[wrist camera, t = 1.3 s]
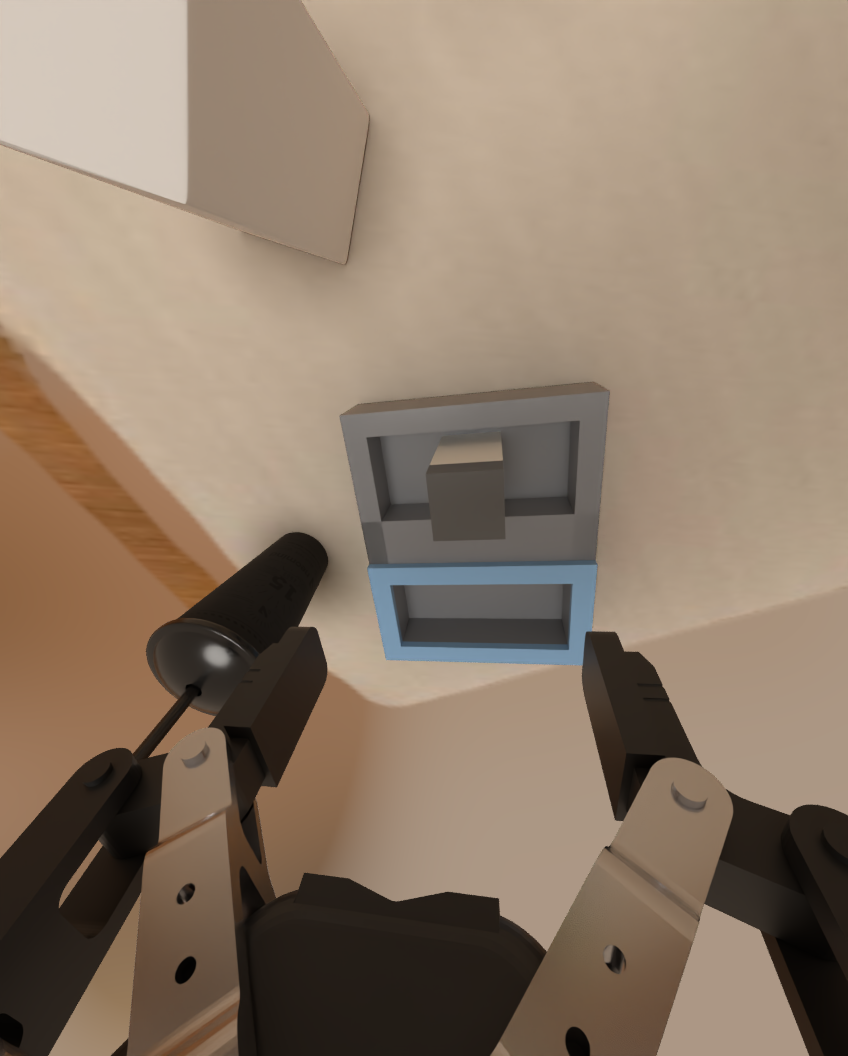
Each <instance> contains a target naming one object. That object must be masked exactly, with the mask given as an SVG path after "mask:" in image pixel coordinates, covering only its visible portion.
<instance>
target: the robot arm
mask: <svg viewBox="0 0 848 1056" xmlns="http://www.w3.org/2000/svg"><path fill="white" fill-rule="evenodd" d="M326 677H327V662H326V659H325V655H324V652H323V648H322V645H321V641H320V638H319V634H318V631H317V629H316V628H315V627H290V628H288V630H287V631H286V632H285V634H284V635H283V637H282V638H281V640H280V641H279V643H273V644H272V645H270V646H269V647H268V648H267V649H266V650H264V651H263V652H262V653H261V654H259V655H258V657H257V658H256V660H255V661H254V663H253V664H252V665H251V667H250V668H249V672H247V673H246V674H245V675H244V677H243V678H242V680H241V683H239V684H238V685H237V687H236V688H235V690H234V691H233V693H232V694H231V695H230V697H229V698H228V700H227V701H226V703H225V704H224V705H223V707H222V708H221V710H220V711H219V713H218V714H217V715H216V717H215V718H214V720H213V721H212V723H211V724H210V725H209V727H208V728H204V729H200V730H197V731H195V732H193V733H191V734H189V735H187V736H186V737H184V738H183V739H182V740H181V741H179V742H178V743H177V744H176V745H175V746H174V747H173V748H172V749H171V751H170V752H169V753H166V754H162V755H158V756H154V757H150V758H146V759H141V760H136V759H135V757H134V756H133V754H132V753H131V751H129V750H128V749H126V748H116V749H111V750H108V751H105V752H103V753H101V754H99V755H97V756H95V757H94V758H92V759H91V760H90V761H88V762H86V763H85V764H84V765H83V766H82V767H81V768H79V769H78V770H77V771H76V772H75V773H74V774H73V776H72V777H71V778H70V779H69V780H68V781H67V782H66V784H65V785H64V786H63V787H62V788H61V789H60V791H59V792H58V793H57V794H56V795H55V796H54V797H53V799H52V800H51V801H50V802H49V803H48V805H46V807H45V808H44V809H43V810H42V811H41V812H40V813H39V815H38V816H37V817H36V818H35V819H34V820H33V822H32V823H31V824H30V825H29V826H28V827H27V828H26V830H25V831H24V832H23V833H22V834H21V835H20V836H19V838H18V839H17V840H16V841H15V842H14V844H13V845H12V846H11V847H10V848H9V849H8V850H7V852H6V853H5V854H4V855H3V856H2V857H1V858H0V1056H48V1055H49V1053H50V1051H51V1050H52V1048H53V1046H54V1044H55V1043H56V1041H57V1039H58V1037H59V1036H60V1034H61V1032H62V1030H63V1029H64V1027H65V1025H66V1023H67V1022H68V1020H69V1018H70V1016H71V1015H72V1013H73V1011H74V1009H75V1008H76V1006H77V1004H78V1002H79V1001H80V999H81V997H82V995H83V994H84V992H85V990H86V988H87V987H88V985H89V983H90V981H91V979H92V978H93V976H94V974H95V972H96V971H97V969H98V967H99V965H100V964H101V962H102V960H103V958H104V957H105V955H106V953H107V951H108V950H109V948H110V946H111V944H112V943H113V941H114V939H115V937H116V935H117V934H118V932H119V930H120V929H121V927H122V925H123V923H124V922H125V920H126V918H127V916H128V915H129V913H130V911H131V909H132V908H133V906H134V904H135V902H136V901H137V899H138V897H139V895H140V893H141V899H140V911H139V922H138V934H137V945H136V957H135V969H134V980H133V991H132V1004H131V1014H130V1015H131V1016H130V1026H129V1037H128V1039H127V1040H126V1041H125V1042H124V1043H123V1044H122V1045H121V1046H120V1047H119V1048H118V1049H117V1050H116V1051H115V1052H114V1053H113V1054H112V1055H111V1056H656V1055H657V1052H658V1049H659V1046H660V1043H661V1040H662V1037H663V1034H664V1031H665V1027H666V1025H667V1021H668V1018H669V1015H670V1012H671V1009H672V1006H673V1003H674V1000H675V997H676V994H677V991H678V987H679V984H680V981H681V978H682V975H683V972H684V969H685V966H686V963H687V960H688V957H689V954H690V950H691V947H692V944H693V941H694V938H695V935H696V931H697V928H698V925H699V921H700V916H701V912H702V909H703V906H704V904H706V905H708V906H710V907H712V908H714V909H717V910H719V911H721V912H723V913H725V914H727V915H729V916H732V917H734V918H736V919H738V920H740V921H742V922H744V923H747V924H749V925H751V926H753V927H755V928H757V929H759V930H760V931H761V933H762V936H763V938H764V941H765V944H766V946H767V949H768V951H769V954H770V956H771V959H772V961H773V964H774V967H775V969H776V972H777V974H778V977H779V979H780V982H781V984H782V987H783V989H784V992H785V995H786V997H787V1000H788V1002H789V1005H790V1007H791V1010H792V1012H793V1015H794V1017H795V1020H796V1023H797V1025H798V1028H799V1030H800V1033H801V1035H802V1038H803V1041H804V1043H805V1046H806V1048H807V1051H808V1053H809V1056H848V815H846V814H844V813H841V812H839V811H837V810H835V809H831V808H828V807H824V806H820V805H803V806H801V807H798V808H796V809H795V810H794V811H793V812H792V814H791V815H787V814H785V813H782V812H779V811H776V810H773V809H770V808H768V807H765V806H762V805H759V804H756V803H753V802H751V801H748V800H746V799H743V798H741V797H739V796H737V795H735V794H733V793H731V792H730V791H728V790H727V789H725V788H724V786H723V785H722V784H721V782H720V781H719V780H717V778H716V777H715V776H714V775H713V774H711V773H710V772H709V771H707V770H706V769H704V768H703V767H702V766H701V764H700V763H699V761H698V759H697V757H696V755H695V753H694V751H693V748H692V746H691V744H690V742H689V740H688V738H687V736H686V734H685V732H684V729H683V727H682V725H681V723H680V721H679V719H678V717H677V714H676V712H675V710H674V708H673V706H672V704H671V702H669V697H668V695H667V693H666V691H665V689H664V688H663V687H662V683H661V681H660V678H659V676H658V674H657V672H656V670H655V668H654V666H653V665H652V664H651V663H650V662H649V661H648V660H646V659H645V658H644V657H643V656H642V655H641V654H640V653H639V652H624V650H623V647H622V645H621V642H620V640H619V637H618V635H617V633H616V632H590V631H587V632H586V634H585V642H584V654H583V667H582V683H583V690H584V696H585V700H586V704H587V708H588V712H589V717H590V721H591V725H592V729H593V733H594V737H595V741H596V745H597V749H598V753H599V757H600V760H601V765H602V769H603V773H604V777H605V781H606V785H607V789H608V793H609V798H610V801H611V806H612V810H613V813H614V818H615V820H617V821H623V823H622V825H621V827H620V828H619V830H618V832H617V834H616V836H615V838H614V840H613V841H612V843H611V845H610V846H609V847H607V846H606V847H605V848H604V849H603V850H602V852H601V853H600V854H599V856H598V858H597V860H596V861H595V863H594V865H593V867H592V869H591V871H590V873H589V874H588V876H587V878H586V880H585V882H584V884H583V886H582V887H581V890H580V891H579V893H578V895H577V897H576V899H575V901H574V903H573V904H572V906H571V908H570V910H569V912H568V914H567V916H566V917H565V919H564V921H563V923H562V925H561V927H560V929H559V931H558V932H557V934H556V936H555V938H554V940H553V942H552V944H551V946H550V947H549V949H548V951H546V950H545V949H544V948H543V947H542V946H541V945H540V944H539V943H538V942H537V940H535V939H534V938H533V937H532V936H531V935H529V933H527V932H526V931H525V930H524V929H522V928H521V927H519V926H518V925H516V924H515V923H513V922H512V921H510V920H508V919H506V918H504V917H502V916H500V909H499V899H498V898H491V897H483V896H476V895H467V894H461V893H453V892H445V893H439V894H434V895H429V896H424V897H419V898H414V899H409V900H403V901H397V902H395V901H391V900H389V899H387V898H385V897H383V896H381V895H379V894H377V893H375V892H374V891H372V890H370V889H368V888H366V887H364V886H362V885H360V884H358V883H356V882H354V881H352V880H351V879H348V878H340V877H333V876H325V875H318V874H310V873H304V875H303V878H302V881H301V884H300V887H299V890H295V891H292V892H290V893H287V894H284V895H282V896H280V897H278V898H276V896H275V892H274V889H273V886H272V884H271V880H270V876H269V872H268V868H267V861H266V855H265V848H264V842H263V836H262V829H261V823H260V817H259V811H258V805H257V801H256V798H255V797H256V795H257V793H258V791H259V789H260V787H261V786H268V787H277V786H278V784H279V781H280V779H281V777H282V775H283V773H284V771H285V769H286V766H287V764H288V762H289V760H290V758H291V756H292V753H293V751H294V749H295V747H296V745H297V742H298V740H299V738H300V736H301V734H302V732H303V730H304V727H305V725H306V723H307V721H308V719H309V716H310V714H311V712H312V710H313V708H314V706H315V704H316V702H317V699H318V697H319V695H320V693H321V691H322V689H323V686H324V684H325V681H326ZM98 840H99V841H100V842H101V844H102V845H103V846H102V848H101V849H100V851H99V852H98V853H97V855H96V856H95V858H94V859H93V861H92V862H91V864H90V865H89V866H88V868H87V869H86V871H85V872H84V874H83V875H82V877H81V878H80V879H79V881H78V882H77V884H76V885H75V887H74V888H73V889H72V891H71V892H70V894H69V895H68V897H67V898H66V899H65V901H64V902H63V904H62V905H61V907H60V908H59V901H60V897H61V895H62V892H63V890H64V888H65V886H66V885H67V883H68V882H69V880H70V879H71V878H72V876H73V875H74V873H75V872H76V871H77V869H78V868H79V866H80V865H81V864H82V862H83V861H84V859H85V858H86V857H87V855H88V853H89V852H90V851H91V849H92V848H93V847H94V845H95V844H96V842H97V841H98Z"/></svg>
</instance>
